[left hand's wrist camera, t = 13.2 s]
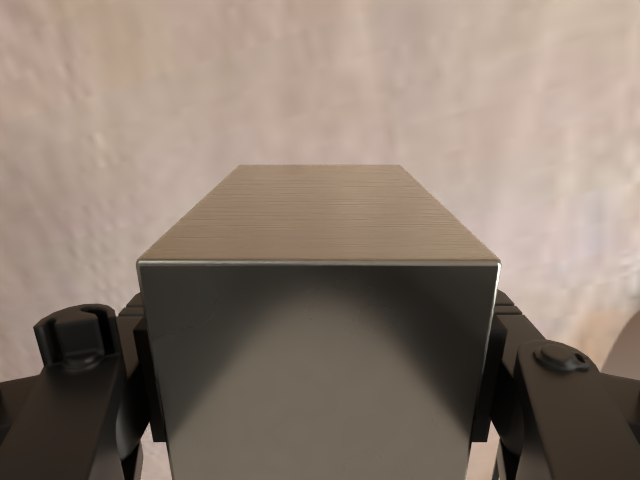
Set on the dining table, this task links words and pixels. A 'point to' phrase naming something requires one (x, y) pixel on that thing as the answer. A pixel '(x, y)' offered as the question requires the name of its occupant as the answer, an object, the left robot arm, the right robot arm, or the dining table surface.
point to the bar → (318, 328)
